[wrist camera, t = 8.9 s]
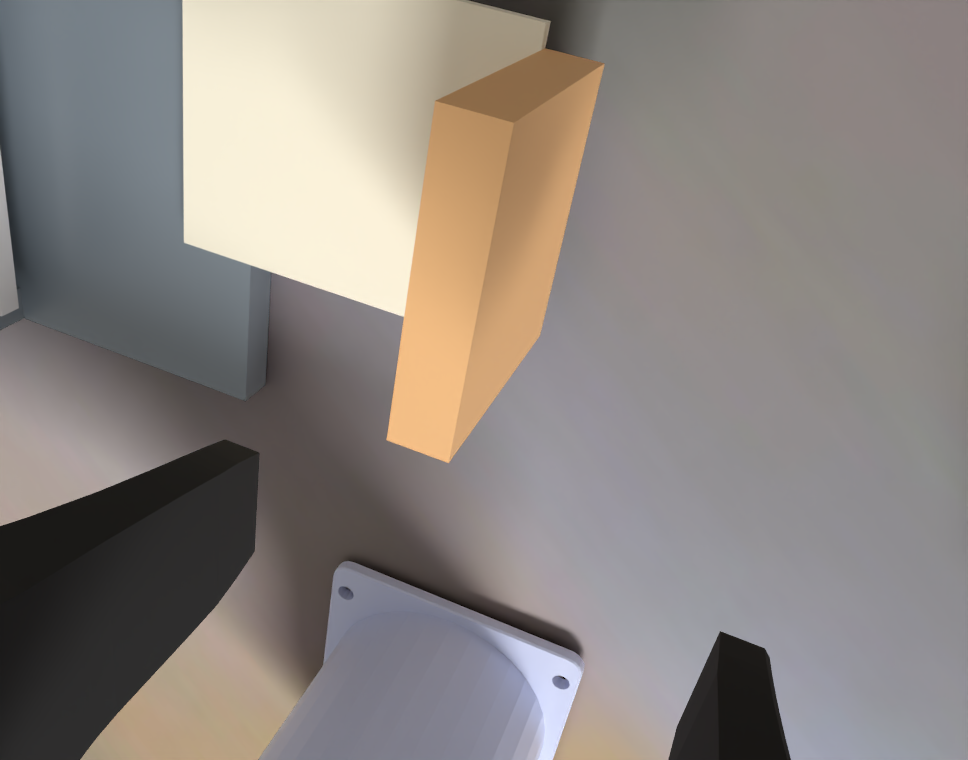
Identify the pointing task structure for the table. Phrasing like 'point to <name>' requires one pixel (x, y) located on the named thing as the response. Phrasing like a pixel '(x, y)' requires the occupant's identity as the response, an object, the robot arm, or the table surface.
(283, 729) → the robot arm
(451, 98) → the two-tone bracket
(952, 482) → the table surface
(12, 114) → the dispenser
